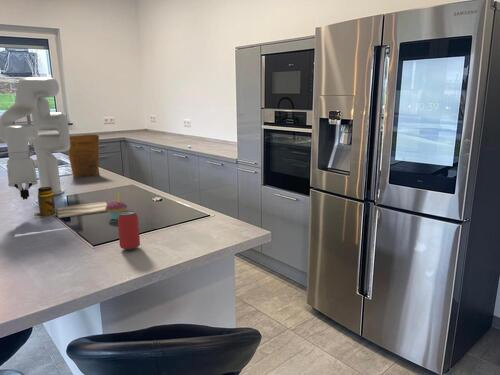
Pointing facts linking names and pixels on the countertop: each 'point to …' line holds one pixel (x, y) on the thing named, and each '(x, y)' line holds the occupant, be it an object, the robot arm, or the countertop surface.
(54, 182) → the robot arm
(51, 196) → the condiment
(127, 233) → the beer can
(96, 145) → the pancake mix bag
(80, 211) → the cutting board
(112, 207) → the cupcake
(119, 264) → the countertop surface
